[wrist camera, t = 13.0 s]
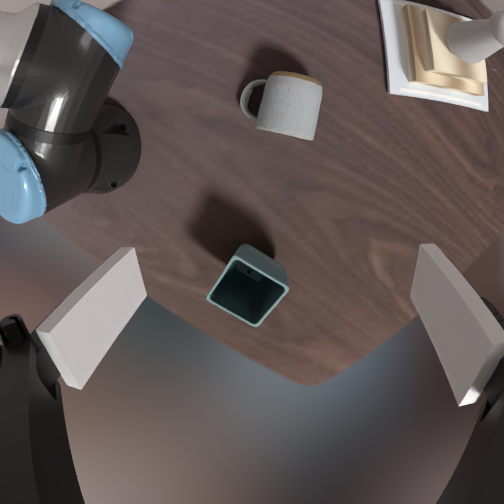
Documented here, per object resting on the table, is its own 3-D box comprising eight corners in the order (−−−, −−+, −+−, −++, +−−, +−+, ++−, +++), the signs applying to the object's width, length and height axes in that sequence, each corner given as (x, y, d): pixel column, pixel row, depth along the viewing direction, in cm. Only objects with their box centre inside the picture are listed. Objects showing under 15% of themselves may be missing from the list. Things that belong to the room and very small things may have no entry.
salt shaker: (481, 57, 23) (540, 48, 12) (457, 71, 25) (517, 62, 14) (458, 20, 22) (511, -3, 10) (432, 33, 24) (484, 8, 12)
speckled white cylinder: (322, 85, 36) (327, 78, 29) (311, 139, 39) (314, 143, 32) (247, 71, 36) (236, 62, 29) (237, 125, 40) (225, 126, 33)
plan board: (388, 93, 34) (390, 93, 33) (377, -2, 28) (379, -5, 27) (485, 111, 32) (488, 111, 31) (475, 23, 25) (478, 21, 24)
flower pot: (262, 295, 51) (256, 329, 43) (218, 269, 50) (204, 299, 42) (292, 258, 48) (290, 288, 40) (244, 229, 47) (233, 254, 38)
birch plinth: (408, 82, 32) (425, 78, 27) (399, 9, 27) (413, -3, 22) (474, 95, 30) (495, 95, 25) (466, 27, 25) (485, 19, 20)
